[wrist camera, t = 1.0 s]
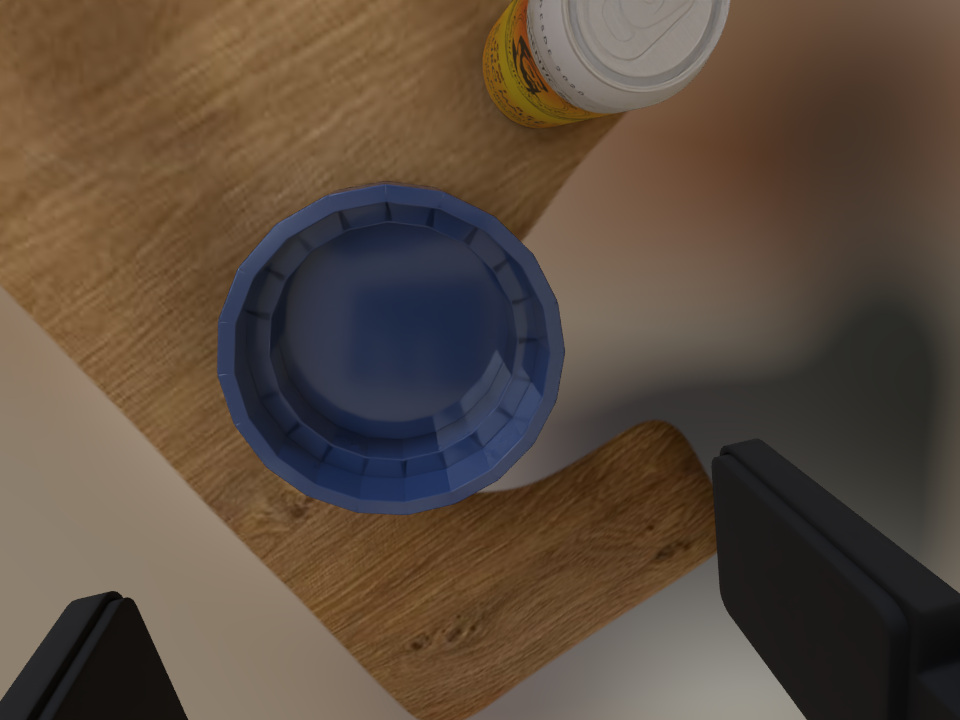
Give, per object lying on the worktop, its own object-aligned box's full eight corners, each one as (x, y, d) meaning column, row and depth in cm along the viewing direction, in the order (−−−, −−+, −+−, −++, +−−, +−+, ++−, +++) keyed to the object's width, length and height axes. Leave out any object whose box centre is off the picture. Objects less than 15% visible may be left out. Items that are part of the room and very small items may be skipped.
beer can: (457, 49, 32) (510, -38, 18) (555, -24, 32) (686, -170, 18) (521, 152, 34) (614, 145, 20) (614, 84, 34) (775, 30, 20)
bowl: (249, 161, 33) (220, 161, 27) (558, 203, 36) (590, 211, 30) (240, 454, 37) (214, 506, 32) (514, 470, 40) (535, 521, 34)
